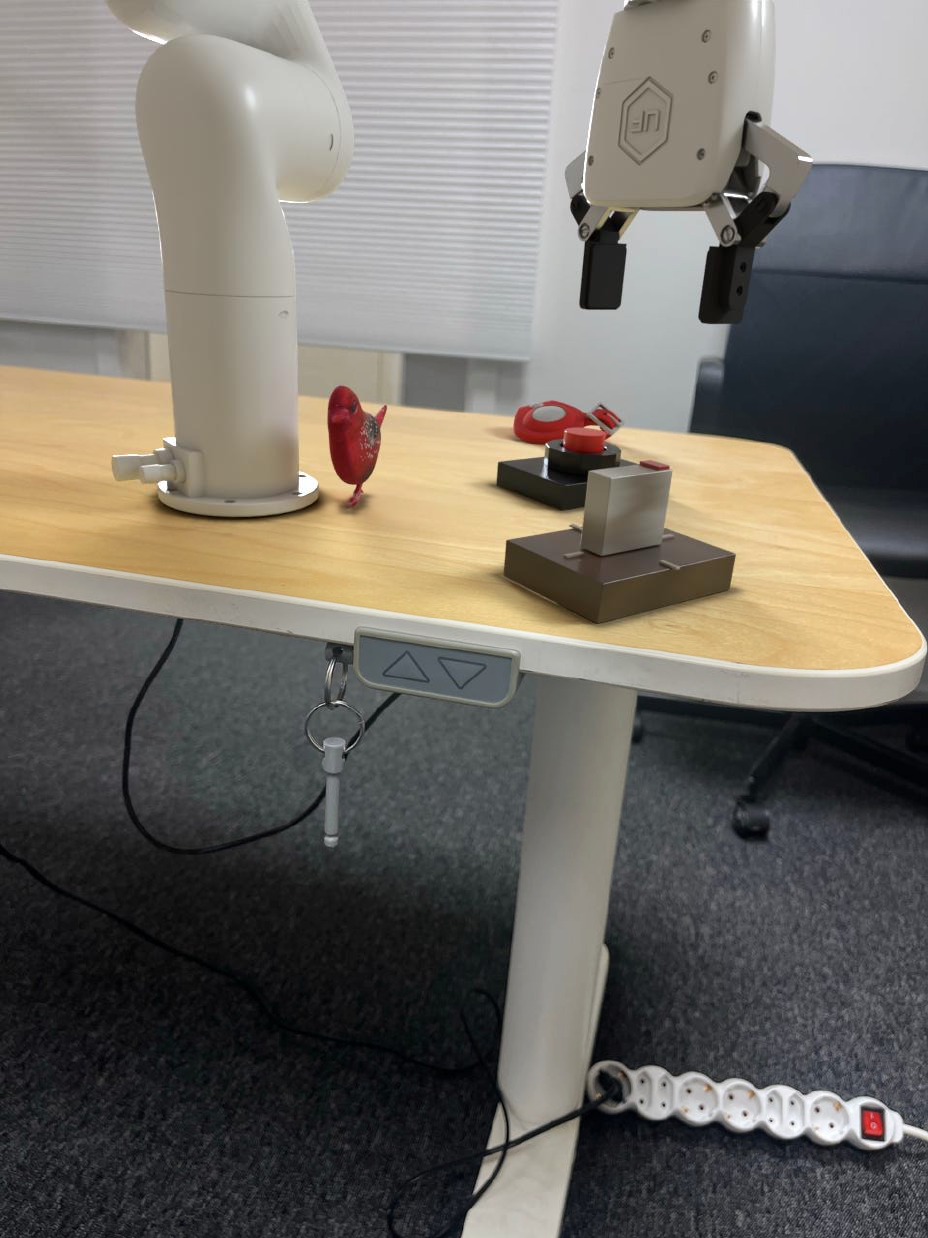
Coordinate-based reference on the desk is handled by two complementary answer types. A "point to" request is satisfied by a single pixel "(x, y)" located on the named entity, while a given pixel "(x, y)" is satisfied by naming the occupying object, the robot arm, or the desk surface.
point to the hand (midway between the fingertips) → (655, 315)
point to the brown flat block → (617, 572)
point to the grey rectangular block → (625, 507)
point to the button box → (557, 474)
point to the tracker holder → (561, 421)
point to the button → (584, 439)
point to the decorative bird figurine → (353, 439)
